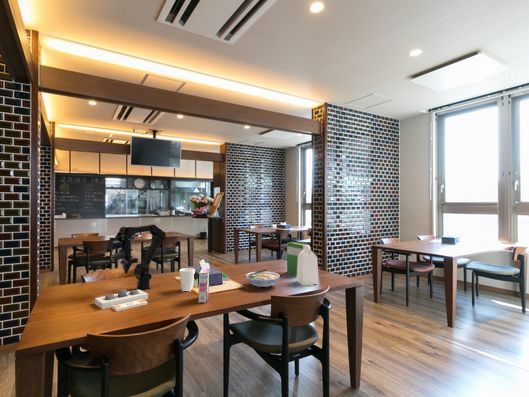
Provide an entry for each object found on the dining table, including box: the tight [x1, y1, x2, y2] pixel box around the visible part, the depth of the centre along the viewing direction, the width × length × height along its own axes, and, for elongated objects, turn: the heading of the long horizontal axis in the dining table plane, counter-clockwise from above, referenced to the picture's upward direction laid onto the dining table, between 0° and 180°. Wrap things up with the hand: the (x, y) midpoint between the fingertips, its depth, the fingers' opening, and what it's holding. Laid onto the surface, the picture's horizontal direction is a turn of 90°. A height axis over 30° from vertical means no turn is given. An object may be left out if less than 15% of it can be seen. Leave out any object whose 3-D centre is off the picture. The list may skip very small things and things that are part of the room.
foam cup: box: [179, 267, 196, 292], centre depth 190 cm, size 10×9×13 cm
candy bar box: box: [197, 268, 210, 304], centre depth 172 cm, size 11×5×16 cm, turn 5°
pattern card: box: [111, 299, 148, 312], centre depth 161 cm, size 16×6×1 cm, turn 135°
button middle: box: [117, 288, 128, 298], centre depth 168 cm, size 4×4×4 cm
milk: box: [296, 244, 319, 286], centre depth 211 cm, size 12×12×26 cm
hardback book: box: [286, 241, 310, 276], centre depth 238 cm, size 18×7×24 cm, turn 35°
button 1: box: [104, 294, 114, 300], centre depth 164 cm, size 4×4×4 cm
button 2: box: [130, 289, 138, 295], centre depth 173 cm, size 4×4×4 cm
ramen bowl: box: [243, 268, 281, 288], centre depth 201 cm, size 25×23×8 cm
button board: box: [94, 289, 149, 310], centre depth 168 cm, size 24×12×3 cm, turn 135°
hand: (125, 273), depth 182 cm, fingers closed
